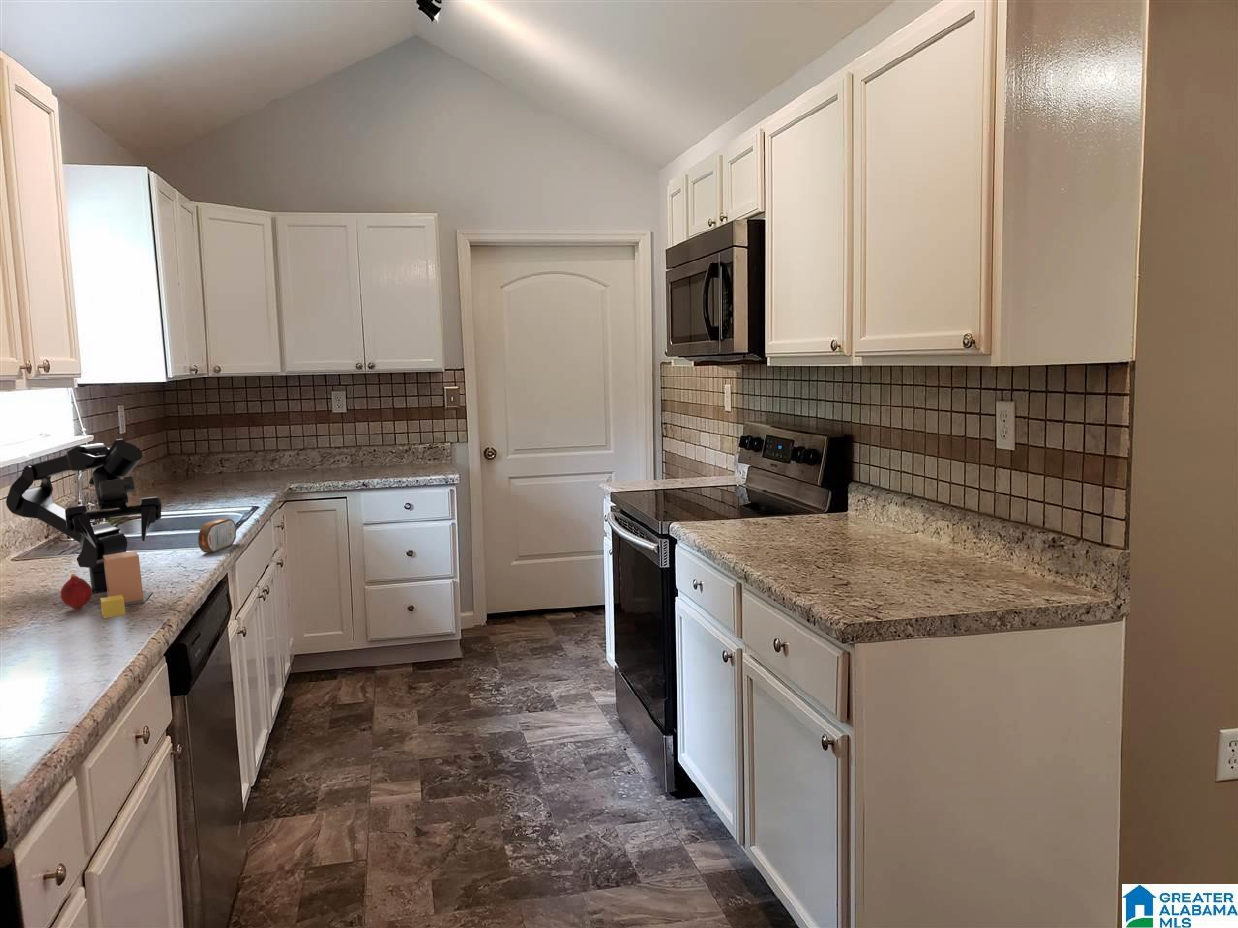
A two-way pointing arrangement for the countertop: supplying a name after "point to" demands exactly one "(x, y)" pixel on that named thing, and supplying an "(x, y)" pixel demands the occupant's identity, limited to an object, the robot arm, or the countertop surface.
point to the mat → (145, 596)
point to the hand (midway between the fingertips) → (120, 543)
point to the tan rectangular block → (123, 575)
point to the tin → (217, 535)
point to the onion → (76, 592)
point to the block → (112, 606)
